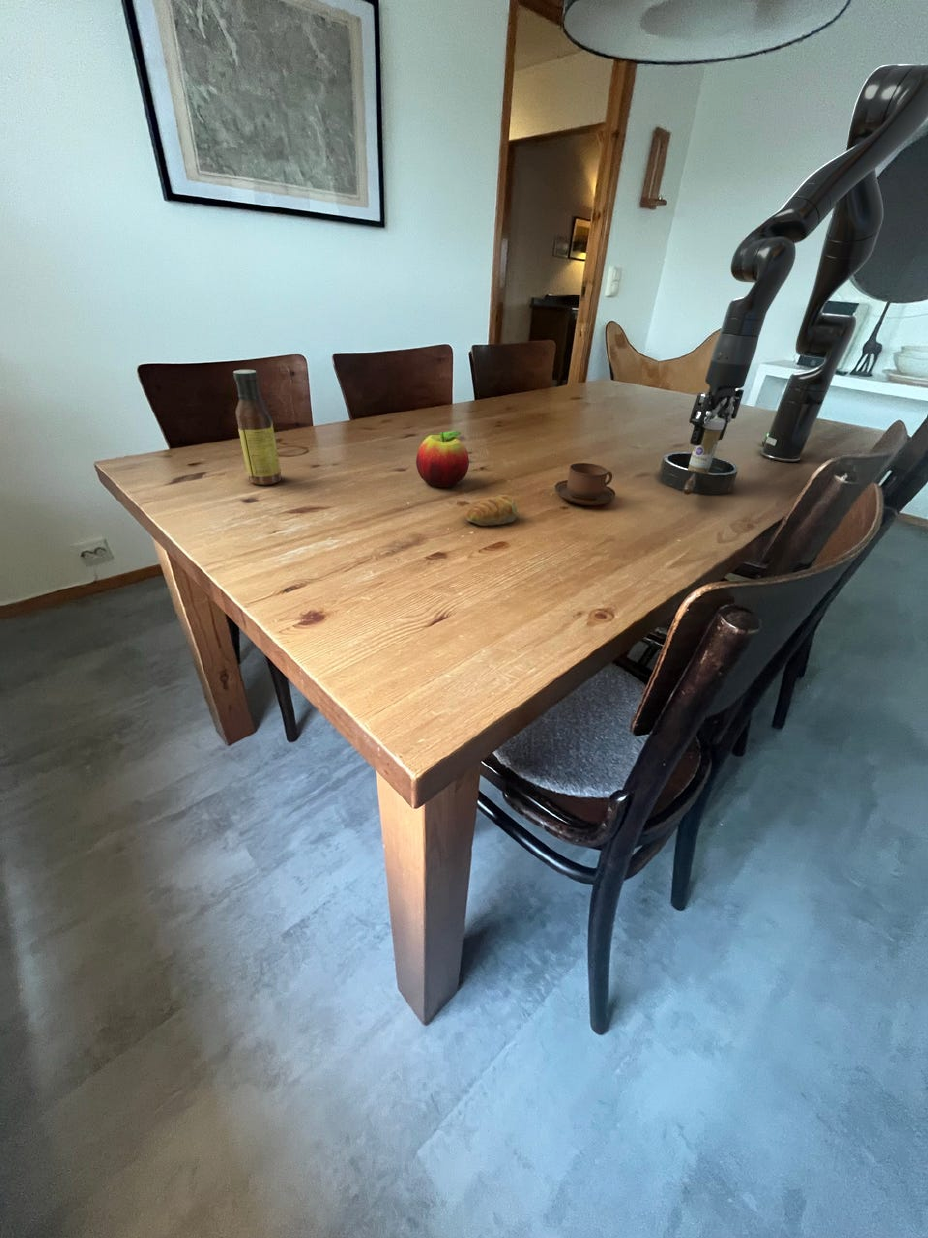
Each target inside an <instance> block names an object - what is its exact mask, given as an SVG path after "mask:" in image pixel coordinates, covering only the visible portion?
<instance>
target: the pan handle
mask: <svg viewBox="0 0 928 1238" xmlns="http://www.w3.org/2000/svg"><path fill="white" fill-rule="evenodd" d="M698 478H699V477H698V475H697V474H696V473H693V474H691V475H690V477H689V479H688V481H687V482H686V484H685V486H684V488H683V491H682V493H683V494H684V495H685V496H689V495H691V494H693V493H692V492H693V489H694V487H695V485H696V483H697V481H698Z"/></svg>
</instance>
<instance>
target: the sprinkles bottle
mask: <svg viewBox="0 0 928 1238" xmlns="http://www.w3.org/2000/svg"><path fill="white" fill-rule="evenodd" d="M705 419H706V417H705V418H704V420H705ZM724 425H725V420H724V419H722V418H718V417H717V416H715V418H713V419H711V420H710V421H709V423H708V424H707V426H706V427H705V428H706V429H705V433H704V436H703V439H702V443H701V445H698V446H696V445H694V448H693V451H692V452H691V453H692V456H691V460H690V464H689V468H688V469H689V470H693V471H699V472H705V473H708V471H709V468H710V466H711V463H712V459H713V456H714V457H715V454H716V450H717V448H718V443H719V441H718V440H719V437H720V434H721V431H722V430H723V428H724Z"/></svg>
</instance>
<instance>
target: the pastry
mask: <svg viewBox="0 0 928 1238" xmlns="http://www.w3.org/2000/svg"><path fill="white" fill-rule="evenodd" d="M519 515H520V513H519V510H518V505H516V501H515V499H514V498H512V496H510V495H508V494H505V495H503V494H499V495H497V496H492V497H485V498H483V499H481V501H479V502H477V503H476V504H474V505H473V506H471V507H469V509H468V510H467V512H466V518H465V520H467V522H470V523H472V524H475V525H477V526H481V527H483V526H484V527H488V526H497V525H500V526H501V525H505V524H509V523H513V522H515V521H516V520H517V518H519Z"/></svg>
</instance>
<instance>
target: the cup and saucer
mask: <svg viewBox="0 0 928 1238" xmlns="http://www.w3.org/2000/svg"><path fill="white" fill-rule="evenodd" d="M607 478H608V479H607ZM612 480H613V474H612V472H611V471H609V470H608V469H607V468H606V467H604V466H602V465H599V464H595V463H588V462H576V463H573V464H571V465H569V469H568V476H567V479H565V480H561V481H558V482H556V483H555V484H554V492H555V493H556V494H557V495H558V497H559V498H561V499H563V500H565V501H567V502H570V503H572V504H576V505H583V506H601V505H605V504H608V503H610V502H612V501H613V500H614V499H615V497H616V492H615V490H614V489H613V488H612V487H610V486H609V484H611V481H612Z"/></svg>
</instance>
